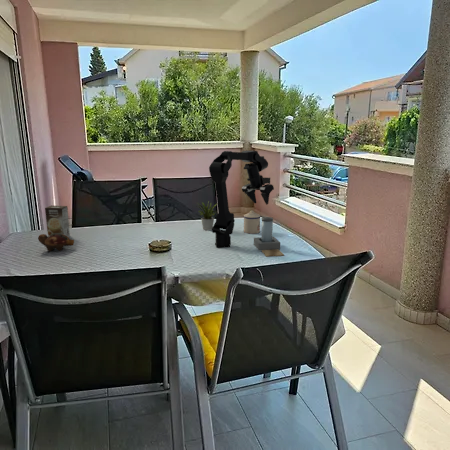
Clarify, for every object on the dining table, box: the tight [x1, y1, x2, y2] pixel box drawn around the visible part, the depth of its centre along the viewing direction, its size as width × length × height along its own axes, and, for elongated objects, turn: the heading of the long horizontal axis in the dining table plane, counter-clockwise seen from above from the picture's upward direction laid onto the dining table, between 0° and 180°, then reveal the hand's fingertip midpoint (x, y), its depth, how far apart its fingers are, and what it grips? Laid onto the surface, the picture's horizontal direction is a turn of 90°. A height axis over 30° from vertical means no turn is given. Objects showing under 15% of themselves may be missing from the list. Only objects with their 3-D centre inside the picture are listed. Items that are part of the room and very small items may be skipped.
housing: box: [253, 236, 281, 252], centre depth 183 cm, size 10×10×4 cm
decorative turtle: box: [38, 233, 75, 252], centre depth 179 cm, size 10×15×8 cm, turn 111°
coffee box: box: [44, 205, 71, 238], centre depth 199 cm, size 9×6×16 cm
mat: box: [261, 249, 285, 258], centre depth 174 cm, size 8×8×1 cm
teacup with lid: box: [243, 210, 261, 235], centre depth 210 cm, size 12×9×12 cm
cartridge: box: [261, 216, 274, 242], centre depth 182 cm, size 5×5×14 cm
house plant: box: [195, 200, 218, 231], centre depth 214 cm, size 14×14×16 cm
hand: (261, 203), depth 202 cm, fingers open, 9 cm apart
